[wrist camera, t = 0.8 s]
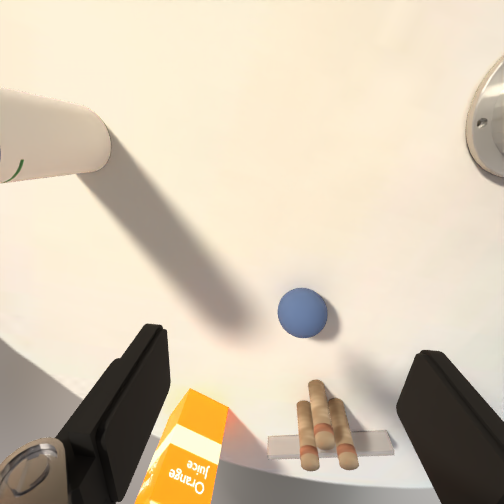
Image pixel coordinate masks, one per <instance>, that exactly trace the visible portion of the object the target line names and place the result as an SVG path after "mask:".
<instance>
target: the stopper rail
mask: <svg viewBox="0 0 504 504" xmlns="http://www.w3.org/2000/svg"><path fill="white" fill-rule="evenodd" d="M351 436H352V439H353V443H354V447H355V450H356V453H357V457H359V456H387V455H394V449H393V446H392V443H391V441H390V438H389V436H388V433H387V431H386V430H385V431H366V432H351ZM334 439H335V438H334ZM317 449H318V455H319V458H330V457H338V455H337V450H336V443H335V447H334V448H333V449H330V450H322V449H319V448H318V447H317ZM267 456H268V459H269V460H273V459H300V443H299V435H287V436H268V450H267Z"/></svg>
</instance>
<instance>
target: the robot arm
mask: <svg viewBox="0 0 504 504" xmlns="http://www.w3.org/2000/svg"><path fill="white" fill-rule="evenodd" d="M477 122H478V124H477ZM466 137H467V144H468V147H469V150H470V153H471V155H472V156H473V158H474V159H475V161H476V162H477V163H478V164H479V165H480V166H481V167H482V168H483V169H484V170H486V171H488V172H490V173H491V174H493V175H496V176H500V177H503V178H504V56H503V57H501V58H500V59H499V61H498V62H497V63H496V64H495V65H494V66H493V67H492V69H491V70H490V71H489V72H488V73H487V75H486V76H485V78H484V79H483V81H482V82H481V84H480V85H479V87H478V89H477V91H476V93H475V95H474V98H473V100H472V102H471V105H470V109H469V112H468V115H467V124H466ZM170 381H171V380H170V366H169V353H168V339H167V330H166V329H163V327H162V325H156V324H145V325H144V326H143V328H142V329H141V330H140V332H139V333H138V335H137V336H136V337H135V339H134V340H133V341H132V343H131V344H130V346H129V347H128V348H127V350H126V351H125V353H124V354H123V355H122V357H121V358H117V359H115V360H114V361H113V362H112V363H111V364H110V365H109V367H108V368H107V369H106V371H105V372H104V373H103V375H102V376H101V377H100V379H99V380H98V381H97V383H96V384H95V385H94V387H93V388H92V389H91V391H90V392H89V393H88V395H87V396H86V397H85V399H84V400H83V401H82V403H81V404H80V405H79V407H78V408H77V409H76V411H75V412H74V413H73V415H72V416H71V417H70V419H69V420H68V421H67V423H66V424H65V425H64V427H63V428H62V430H61V431H60V432H59V433H58V435H57V436H56V437H55V438H51V437H49V438H40V439H38V440H34V441H32V442H29V443H27V444H26V445H24V446H22V447H20V448H18V449H17V450H16V451H15V452H13V453H12V454H11V455H9V456H8V457H7V458H6V459H5V460H4V461H3V462H2V463H1V464H0V504H116V502H121V501H122V499H123V498H124V496H125V494H126V492H127V489H128V487H129V484H130V482H131V479H132V477H133V475H134V473H135V470H136V468H137V465H138V463H139V461H140V458H141V456H142V453H143V451H144V449H145V446H146V444H147V442H148V439H149V437H150V434H151V432H152V430H153V427H154V425H155V423H156V420H157V418H158V415H159V413H160V411H161V408H162V406H163V404H164V401H165V399H166V396H167V394H168V391H169V388H170ZM396 409H397V414H398V416H399V418H400V420H401V422H402V424H403V426H404V428H405V430H406V433H407V435H408V437H409V439H410V441H411V443H412V445H413V447H414V449H415V451H416V453H417V455H418V457H419V459H420V461H421V463H422V465H423V467H424V469H425V471H426V473H427V475H428V477H429V479H430V481H431V483H432V485H433V487H434V489H435V491H436V493H437V495H438V497H439V499H440V502H441V503H442V504H504V422H503V421H502V419H501V418H500V417H499V416H498V415H497V414H496V413H495V411H494V410H493V409H492V408H491V407H490V406H489V405H488V403H487V402H486V401H485V400H484V399H483V398H482V397H481V395H480V394H479V393H478V392H477V391H476V390H475V389H474V387H473V386H472V385H471V384H470V383H469V382H468V381H467V379H466V378H465V377H464V376H463V375H462V374H461V373H460V371H459V370H458V369H457V368H456V367H455V366H454V365H453V363H452V362H451V361H450V360H449V359H448V358H447V357H446V355H445V354H444V353H442V352H440V351H431V350H422V351H421V352H420V353H419V354H416V356H415V358H414V361H413V364H412V366H411V369H410V371H409V374H408V376H407V379H406V381H405V384H404V387H403V389H402V392H401V394H400V397H399V399H398V402H397V405H396Z"/></svg>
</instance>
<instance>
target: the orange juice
mask: <svg viewBox="0 0 504 504" xmlns="http://www.w3.org/2000/svg"><path fill="white" fill-rule="evenodd" d="M228 408H229V407H227V406H225V405H223V404H221V403H219V402H217V401H215V400H213V399H211V398H209V397H207V396H205V395H203V394H201V393H199V392H197V391H195V390H193V389H191V388H190V389H189V390H188V392H187V393H186V394H185V396H184V397H183V399H182V400H181V401H180V403H179V404H178V405H177V407H176V408H175V410H174V411H173V412H172V414H171V415H170V417H169V419H168V422H167V424H166V427H165V429H164V432H163V434H162V437H161V439H160V442H159V445H158V447H157V449H156V452H155V453H154V456H153V458H152V461H151V463H150V466H149V468H148V471H147V474H146V477H145V479H144V482H143V484H142V487H141V489H140V491H139V494H138V496H137V499H136V502H135V504H210V503H211V498H212V492H213V487H214V482H215V476H216V471H217V466H218V462H219V457H220V452H221V446H222V439H223V434H224V429H225V424H226V418H227V413H228Z"/></svg>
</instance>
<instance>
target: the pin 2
mask: <svg viewBox="0 0 504 504" xmlns="http://www.w3.org/2000/svg"><path fill="white" fill-rule="evenodd" d="M328 408H329V413H330V418H331V423H332V428H333V432H334V437H335V443H336V450H337V455H338V459H339V464H340V467H341V468H343V469H345V470H354V469H356V468H358V466H359V463H358V459H357V453H356V450H355V447H354V443H353V439H352V436H351V432H350V428H349V424H348V420H347V416H346V412H345V408H344V405H343V402H342V400H340V399H337V398H333V399H331V400H329V401H328Z"/></svg>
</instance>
